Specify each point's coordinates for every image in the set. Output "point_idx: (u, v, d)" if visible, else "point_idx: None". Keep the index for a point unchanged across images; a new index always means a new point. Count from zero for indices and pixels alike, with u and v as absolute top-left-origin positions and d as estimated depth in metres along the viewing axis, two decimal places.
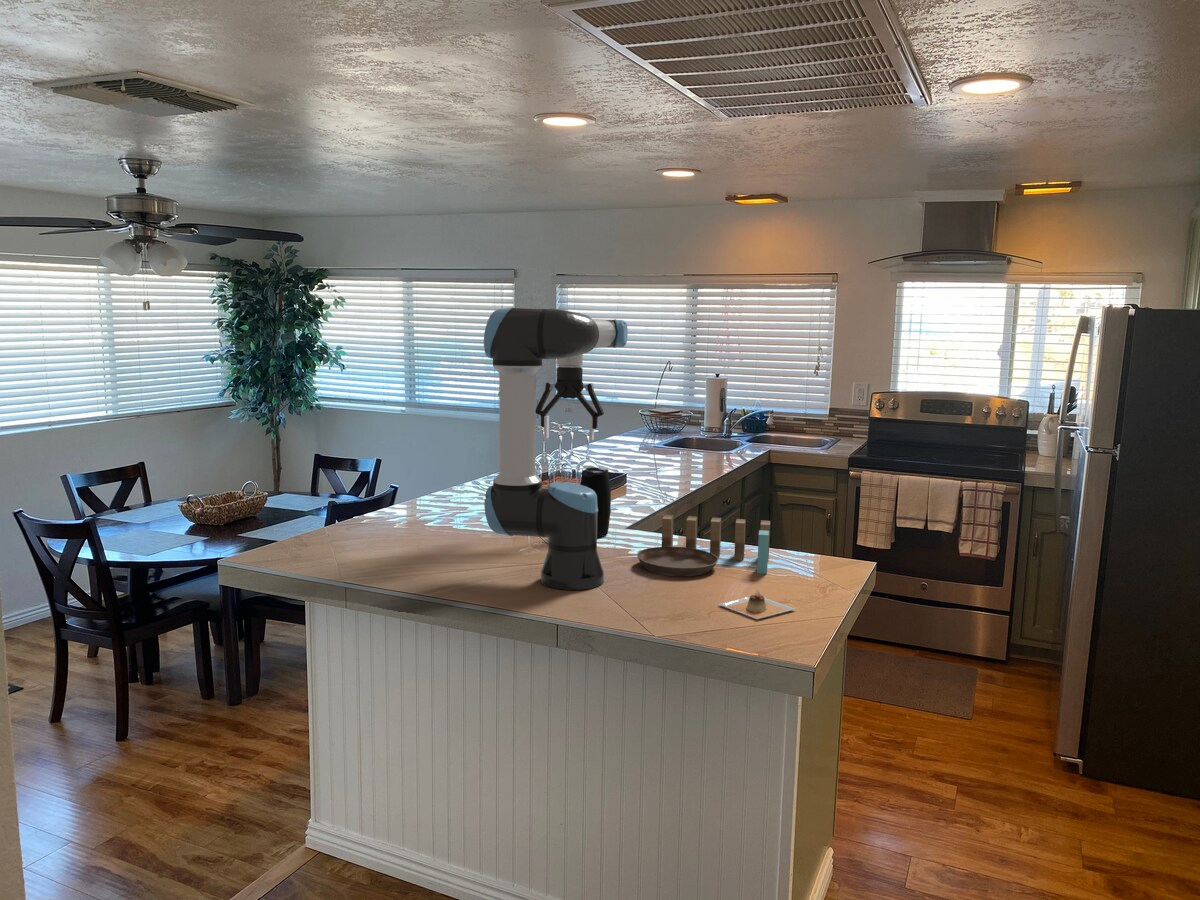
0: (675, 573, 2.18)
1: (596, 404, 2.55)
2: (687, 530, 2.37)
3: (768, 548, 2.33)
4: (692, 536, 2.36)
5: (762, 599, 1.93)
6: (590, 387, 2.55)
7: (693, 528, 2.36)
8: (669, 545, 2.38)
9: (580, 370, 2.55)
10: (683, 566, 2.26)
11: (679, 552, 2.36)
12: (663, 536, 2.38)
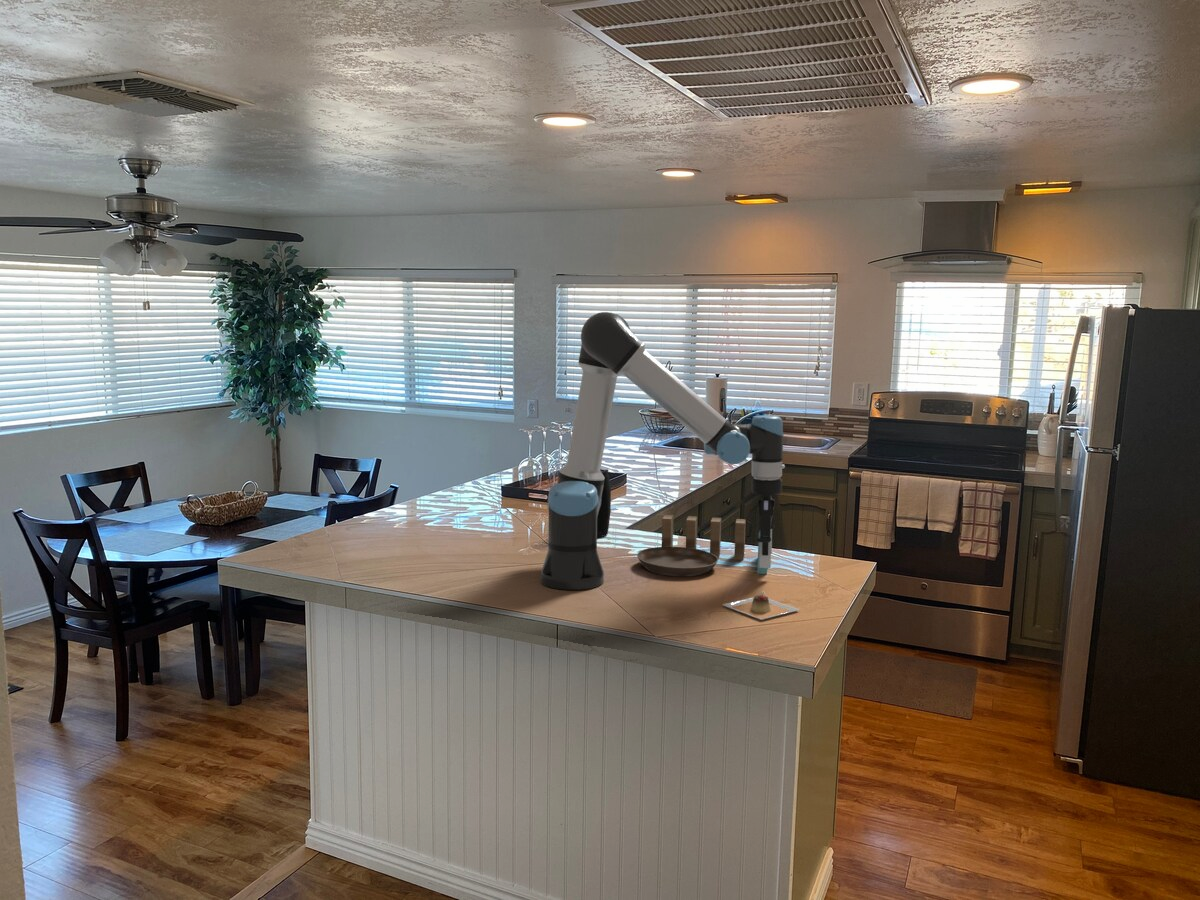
0: (675, 573, 2.18)
1: None
2: (687, 530, 2.37)
3: None
4: (692, 536, 2.36)
5: (766, 600, 1.92)
6: (760, 505, 2.15)
7: (693, 528, 2.36)
8: (669, 545, 2.38)
9: (761, 484, 2.18)
10: (683, 566, 2.26)
11: (679, 552, 2.36)
12: (663, 536, 2.38)
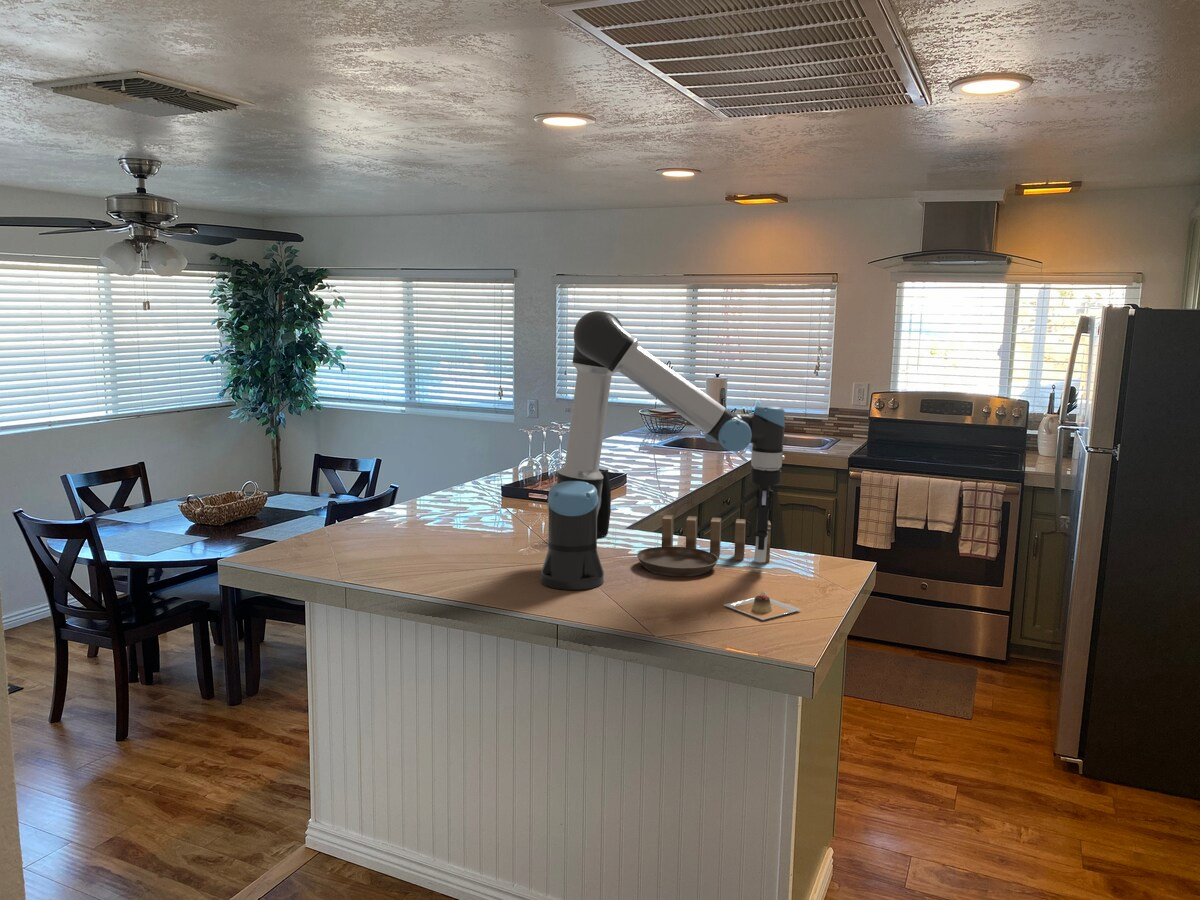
0: (675, 573, 2.18)
1: None
2: (687, 530, 2.37)
3: (769, 548, 2.33)
4: (692, 536, 2.36)
5: (767, 600, 1.92)
6: (758, 501, 2.16)
7: (693, 528, 2.36)
8: (669, 545, 2.38)
9: (760, 474, 2.17)
10: (683, 566, 2.26)
11: (679, 552, 2.36)
12: (663, 536, 2.38)
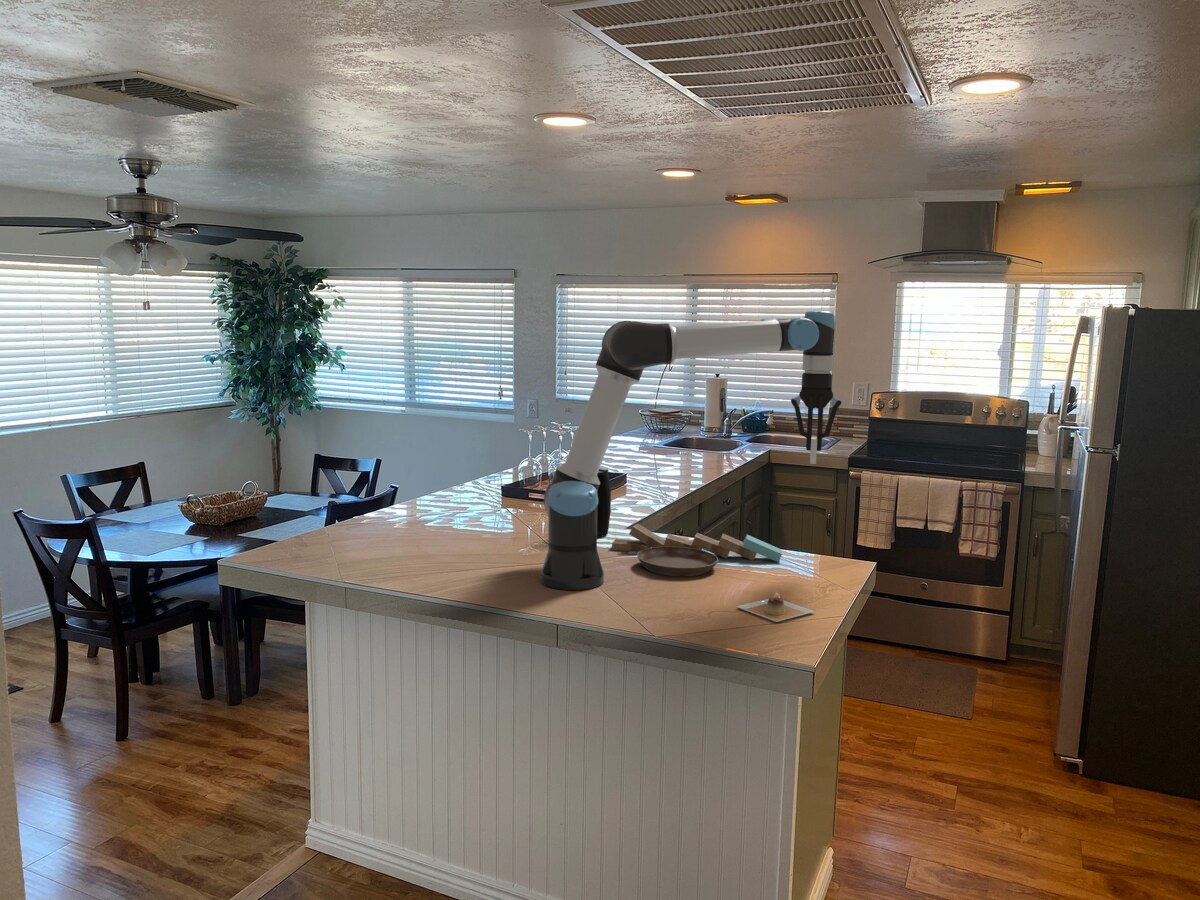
0: (675, 573, 2.18)
1: (830, 423, 2.26)
2: (638, 538, 2.42)
3: (743, 547, 2.34)
4: (645, 537, 2.41)
5: (781, 601, 1.91)
6: (838, 404, 2.25)
7: (639, 532, 2.41)
8: (637, 545, 2.42)
9: (831, 377, 2.25)
10: (683, 566, 2.26)
11: (679, 552, 2.36)
12: None
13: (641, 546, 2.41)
